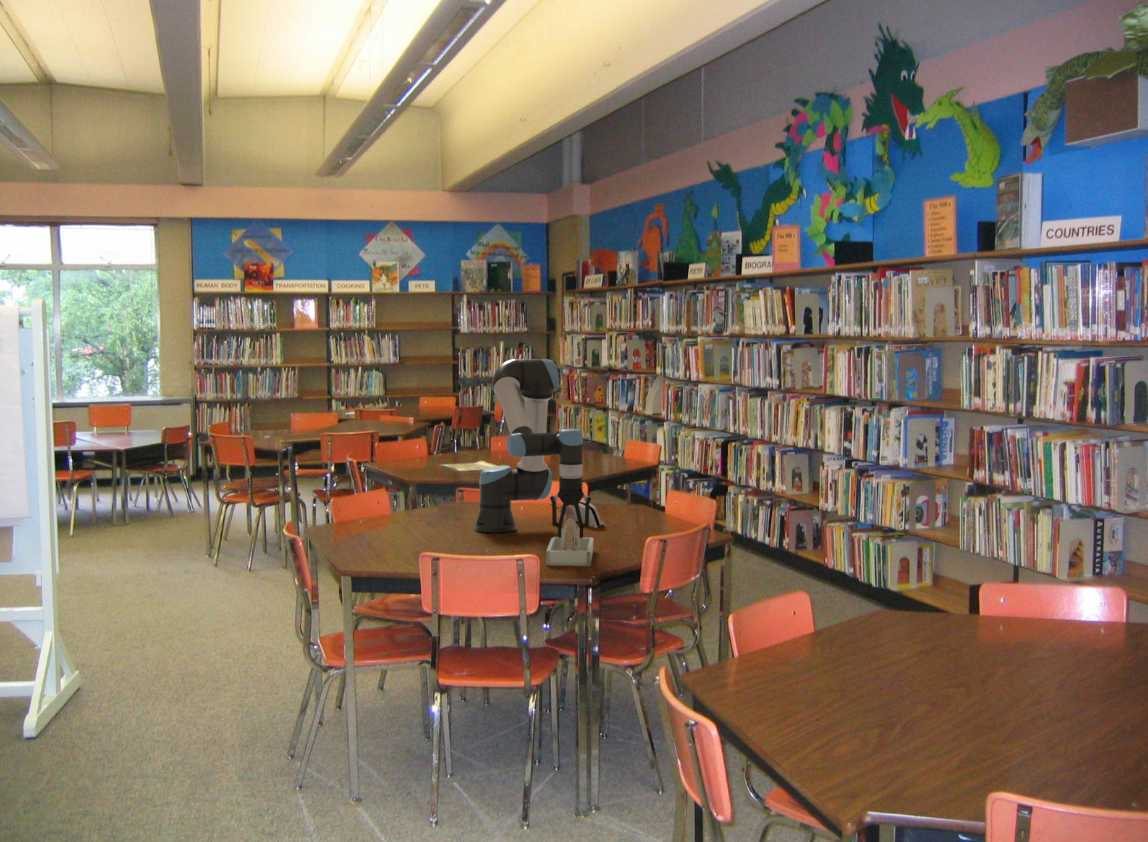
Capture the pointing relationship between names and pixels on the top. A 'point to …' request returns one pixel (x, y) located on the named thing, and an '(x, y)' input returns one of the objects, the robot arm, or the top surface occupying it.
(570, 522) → the unicorn figurine
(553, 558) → the tray
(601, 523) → the grey curved block
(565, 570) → the top surface
